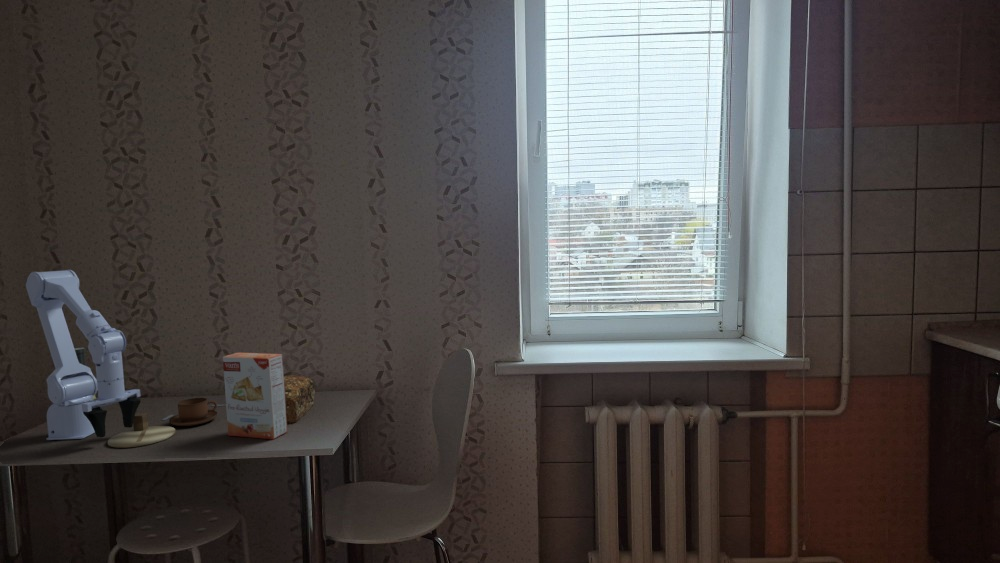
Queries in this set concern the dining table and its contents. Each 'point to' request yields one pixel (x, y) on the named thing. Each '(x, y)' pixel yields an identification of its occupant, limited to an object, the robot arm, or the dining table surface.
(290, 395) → the bread
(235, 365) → the cracker box
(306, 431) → the dining table surface
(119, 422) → the dining table surface
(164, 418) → the tape mark left
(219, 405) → the tape mark far
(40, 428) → the dining table surface
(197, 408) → the cup and saucer
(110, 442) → the cream disc with block
